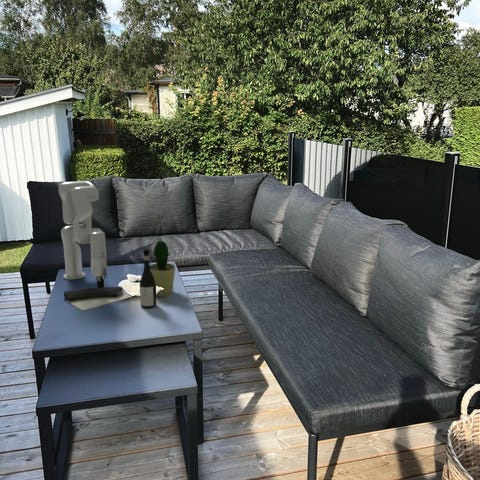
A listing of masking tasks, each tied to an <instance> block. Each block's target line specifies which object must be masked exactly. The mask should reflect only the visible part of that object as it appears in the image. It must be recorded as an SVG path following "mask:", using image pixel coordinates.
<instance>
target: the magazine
mask: <svg viewBox="0 0 480 480" xmlns="http://www.w3.org/2000/svg"><path fill="white" fill-rule="evenodd" d="M122 287H123V286H108V287H106V286H104V287H103V288H97V287H93V288H92V287H91V288H83V289H75V290H74V289H73V290H67V291H63V296H64V298H65V300H66V302H67V301H71V300H77V299H86V298H95V297H117V296H120V295H121V294H122V293H123V290H122V289H123V288H122Z"/></svg>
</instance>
